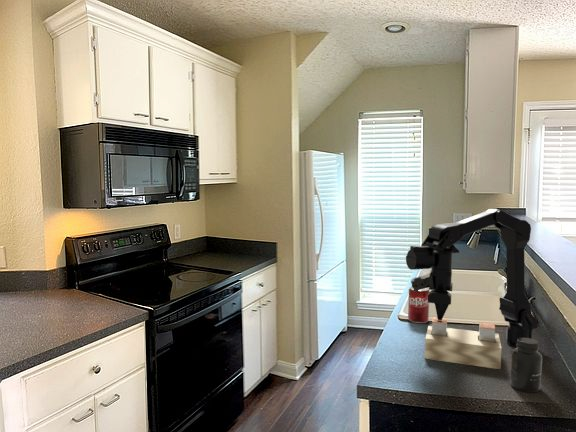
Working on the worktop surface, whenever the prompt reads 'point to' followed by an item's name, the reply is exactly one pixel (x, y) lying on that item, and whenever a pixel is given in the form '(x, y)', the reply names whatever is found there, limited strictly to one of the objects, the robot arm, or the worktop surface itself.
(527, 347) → the supplement bottle
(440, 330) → the peg
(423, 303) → the soda can
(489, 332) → the peg
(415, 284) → the robot arm
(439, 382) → the worktop surface
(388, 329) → the worktop surface
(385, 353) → the worktop surface
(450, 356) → the socket block
